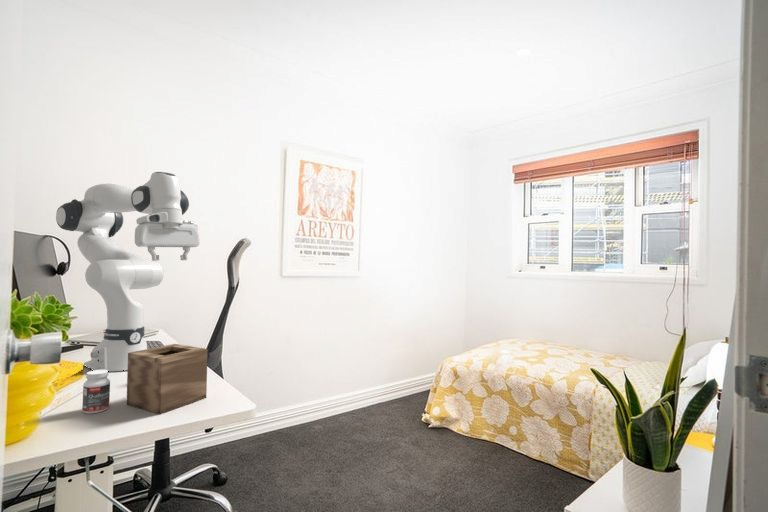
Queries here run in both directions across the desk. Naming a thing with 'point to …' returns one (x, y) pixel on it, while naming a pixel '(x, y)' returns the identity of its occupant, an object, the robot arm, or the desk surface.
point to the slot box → (166, 377)
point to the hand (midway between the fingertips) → (170, 260)
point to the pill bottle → (96, 392)
